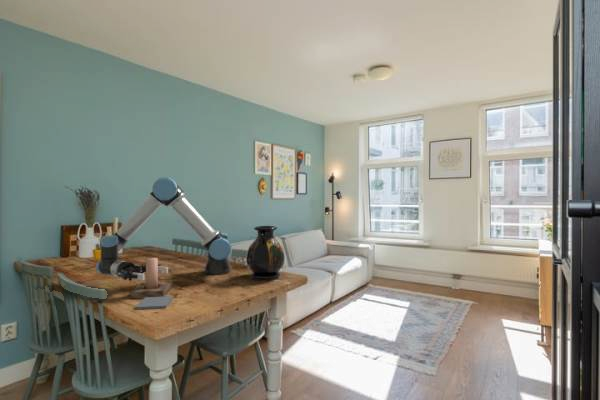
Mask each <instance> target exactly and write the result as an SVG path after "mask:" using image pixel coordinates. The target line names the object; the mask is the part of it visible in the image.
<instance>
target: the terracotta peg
mask: <svg viewBox="0 0 600 400" xmlns="http://www.w3.org/2000/svg"><path fill="white" fill-rule="evenodd" d="M158 264H159V259H158V257H148V258H146V259H145V265H146V272H145V283H146V289H158V282H159V272H158Z"/></svg>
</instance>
